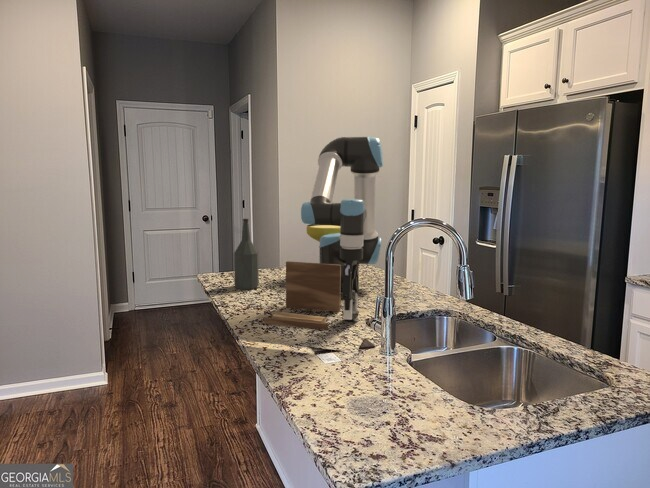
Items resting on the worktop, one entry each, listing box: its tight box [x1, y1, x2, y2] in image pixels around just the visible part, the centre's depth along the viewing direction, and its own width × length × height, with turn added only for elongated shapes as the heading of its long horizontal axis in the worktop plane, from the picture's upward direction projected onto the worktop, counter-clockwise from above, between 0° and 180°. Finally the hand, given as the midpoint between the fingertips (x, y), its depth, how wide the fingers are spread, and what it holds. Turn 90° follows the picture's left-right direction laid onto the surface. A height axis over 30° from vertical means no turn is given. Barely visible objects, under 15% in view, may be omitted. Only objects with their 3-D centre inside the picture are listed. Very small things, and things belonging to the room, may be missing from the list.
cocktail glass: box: [306, 224, 340, 243], centre depth 226 cm, size 18×18×25 cm
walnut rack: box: [263, 260, 342, 331], centre depth 163 cm, size 21×22×18 cm
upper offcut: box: [271, 311, 327, 323], centre depth 158 cm, size 4×17×2 cm, turn 71°
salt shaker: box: [341, 289, 360, 325], centre depth 159 cm, size 6×6×12 cm
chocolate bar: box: [309, 337, 376, 355], centre depth 142 cm, size 9×1×18 cm
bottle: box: [233, 218, 260, 291], centre depth 207 cm, size 10×10×30 cm
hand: (350, 315), depth 160 cm, fingers open, 7 cm apart
